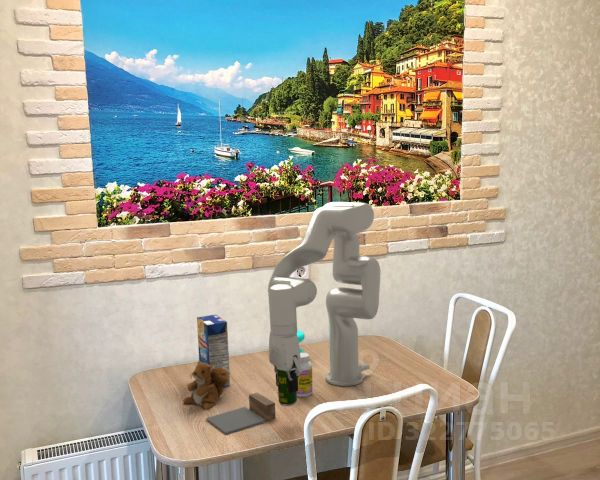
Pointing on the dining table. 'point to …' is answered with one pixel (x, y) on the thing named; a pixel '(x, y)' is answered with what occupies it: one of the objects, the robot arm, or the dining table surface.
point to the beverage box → (213, 342)
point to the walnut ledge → (262, 406)
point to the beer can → (285, 389)
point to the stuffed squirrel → (206, 385)
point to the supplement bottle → (305, 377)
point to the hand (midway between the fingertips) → (287, 387)
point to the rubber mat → (235, 420)
